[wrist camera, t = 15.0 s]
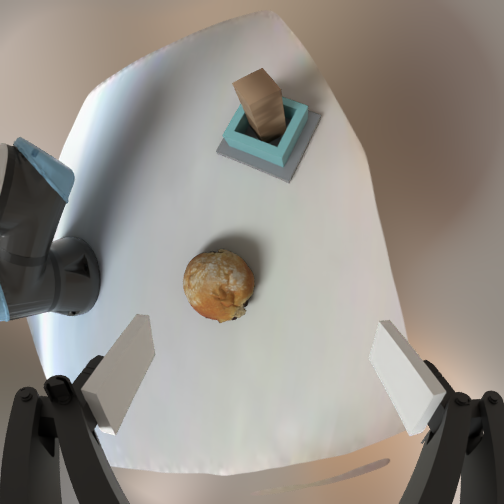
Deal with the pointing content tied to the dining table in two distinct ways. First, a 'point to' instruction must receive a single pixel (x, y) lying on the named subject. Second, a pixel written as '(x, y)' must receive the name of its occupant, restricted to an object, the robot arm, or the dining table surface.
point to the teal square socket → (276, 152)
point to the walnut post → (262, 105)
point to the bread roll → (218, 285)
